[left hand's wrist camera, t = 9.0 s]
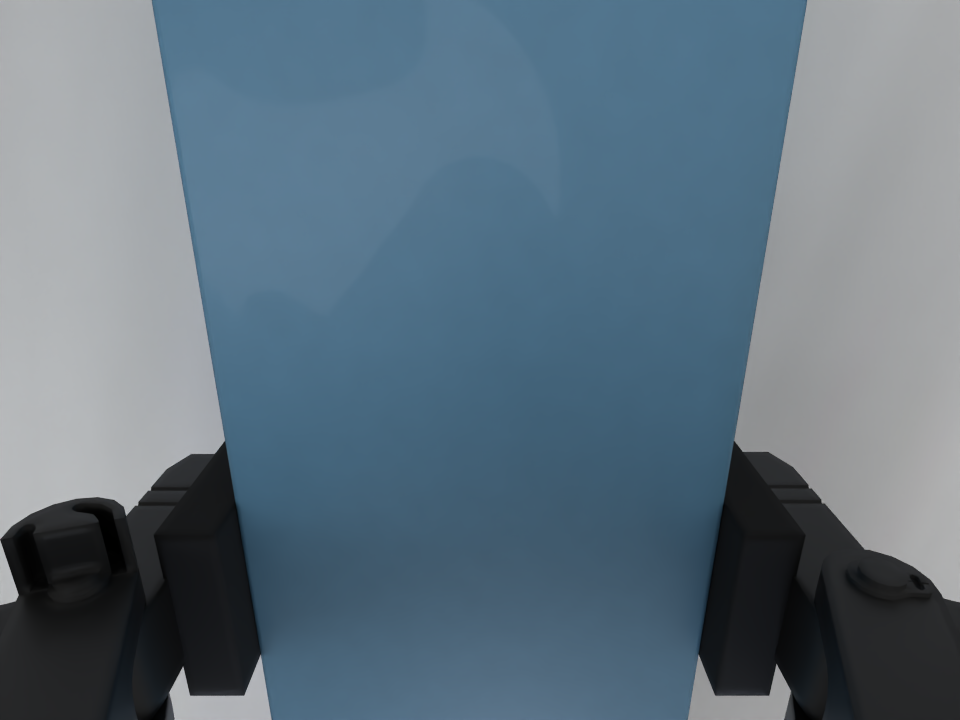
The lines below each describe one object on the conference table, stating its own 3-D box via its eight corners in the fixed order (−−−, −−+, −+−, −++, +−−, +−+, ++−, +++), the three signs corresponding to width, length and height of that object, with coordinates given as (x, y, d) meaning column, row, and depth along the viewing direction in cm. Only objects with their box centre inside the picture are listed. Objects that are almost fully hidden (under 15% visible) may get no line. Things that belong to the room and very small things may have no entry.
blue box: (315, -189, 13) (26, -712, 5) (643, -188, 13) (931, -711, 5) (367, 485, 19) (278, 780, 10) (592, 485, 19) (680, 779, 10)
